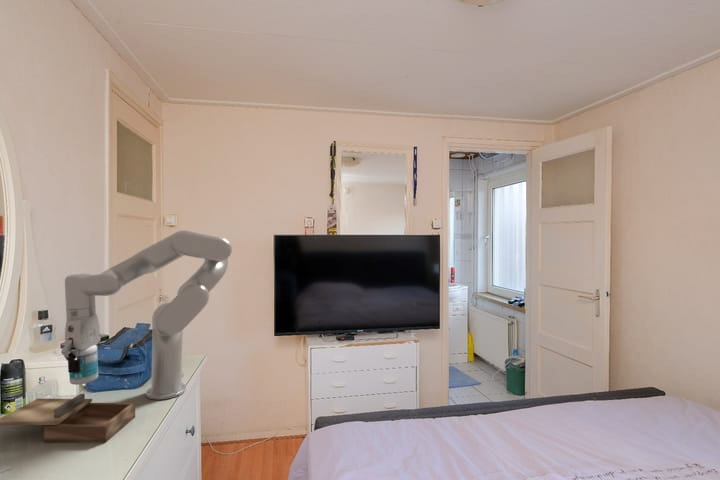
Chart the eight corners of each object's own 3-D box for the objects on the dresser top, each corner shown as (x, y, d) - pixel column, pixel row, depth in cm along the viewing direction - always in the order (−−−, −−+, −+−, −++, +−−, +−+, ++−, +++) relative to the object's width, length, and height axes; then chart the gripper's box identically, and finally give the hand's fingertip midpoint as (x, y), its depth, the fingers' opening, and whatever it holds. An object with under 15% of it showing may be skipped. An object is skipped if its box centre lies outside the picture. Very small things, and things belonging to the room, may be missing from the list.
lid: (37, 401, 111) (37, 390, 111) (92, 401, 112) (92, 390, 112) (-7, 424, 97) (-7, 412, 97) (56, 424, 98) (56, 412, 98)
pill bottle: (64, 384, 116) (61, 341, 116) (88, 374, 123) (86, 335, 123) (80, 386, 114) (78, 343, 113) (104, 377, 121) (102, 336, 120)
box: (81, 417, 112) (81, 402, 112) (135, 417, 113) (135, 402, 113) (43, 442, 98) (44, 426, 98) (105, 442, 99) (106, 426, 99)
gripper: (73, 319, 109) (76, 377, 110) (110, 306, 126) (112, 357, 127) (47, 319, 109) (50, 378, 109) (87, 307, 126) (90, 358, 127)
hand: (83, 366), depth 118 cm, fingers closed on pill bottle, 7 cm apart
